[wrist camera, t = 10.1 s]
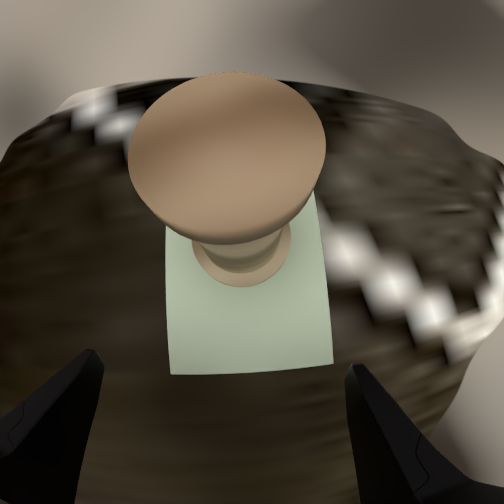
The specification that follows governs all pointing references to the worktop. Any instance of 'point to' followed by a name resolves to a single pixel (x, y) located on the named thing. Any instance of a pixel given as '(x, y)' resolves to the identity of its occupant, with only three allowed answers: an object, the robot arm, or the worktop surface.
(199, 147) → the tan turned knob
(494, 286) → the worktop surface
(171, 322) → the board
